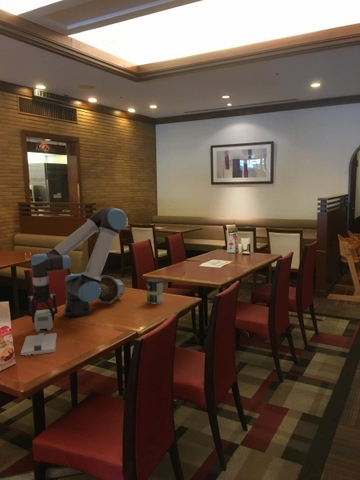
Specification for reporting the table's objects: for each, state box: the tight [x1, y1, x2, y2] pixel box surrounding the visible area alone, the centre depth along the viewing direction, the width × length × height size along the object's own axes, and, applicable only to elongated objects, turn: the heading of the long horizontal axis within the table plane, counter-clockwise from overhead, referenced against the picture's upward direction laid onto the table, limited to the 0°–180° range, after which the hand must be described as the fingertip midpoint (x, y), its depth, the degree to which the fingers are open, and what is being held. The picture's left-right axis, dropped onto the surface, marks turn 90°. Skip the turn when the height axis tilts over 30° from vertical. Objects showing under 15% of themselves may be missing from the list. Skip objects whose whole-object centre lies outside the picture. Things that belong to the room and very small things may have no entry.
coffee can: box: [146, 277, 164, 305], centre depth 246 cm, size 10×10×14 cm
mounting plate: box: [20, 329, 58, 356], centre depth 180 cm, size 14×20×4 cm
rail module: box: [35, 308, 52, 333], centre depth 200 cm, size 7×7×9 cm
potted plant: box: [96, 275, 125, 305], centre depth 243 cm, size 18×18×30 cm
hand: (44, 327), depth 201 cm, fingers closed on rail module, 7 cm apart
